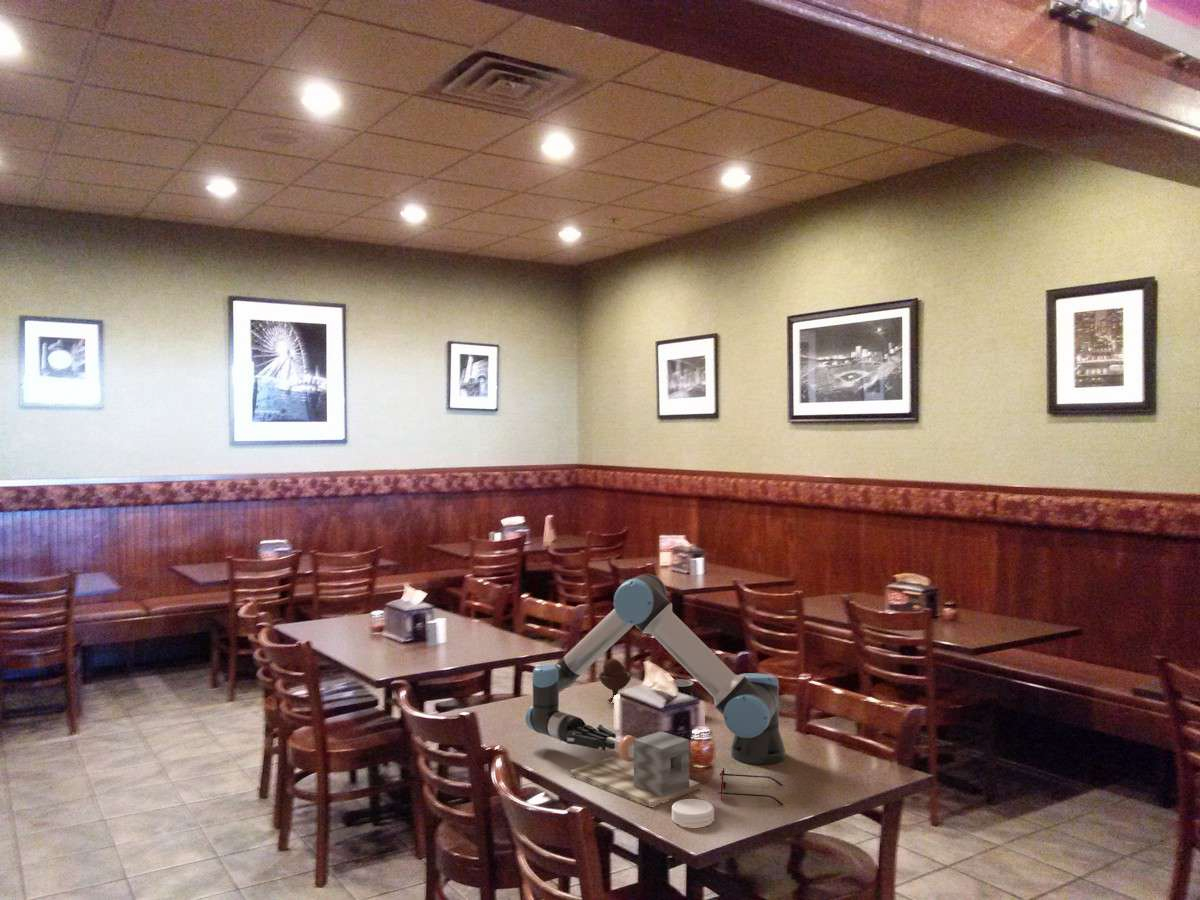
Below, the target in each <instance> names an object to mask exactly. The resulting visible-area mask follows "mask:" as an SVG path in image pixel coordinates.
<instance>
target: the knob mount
mask: <svg viewBox="0 0 1200 900" xmlns="http://www.w3.org/2000/svg"><path fill="white" fill-rule="evenodd" d="M636 738H637V739H634V761H632V762H628V761H625V760H623V759H621V758H620V757H619V754H615V755H613V756H611V757H607V758H604V759H601V760H597V761H594V762H592V763H589V764H586V765H583V766H580V767H575V768H574V769H570V776H571V775H572V776H574V777H573V778H575V777H577V778H579V779H578V780H580V779H581V780H580V781H582V780H583V782H585V781H587V782H590V783H591V784H590V783H589V784H590V785H592V784H594V785H593V786H595V785H597V786H599V787H598V788H600V787H602V788H604V789H603V790H605V789H607V790H609V791H608V792H610V791H612V792H614V793H613V794H615V793H616V794H615V795H617V794H619V795H618V796H620V795H621V796H620V797H622V796H624V797H623V798H625V797H627V798H629V799H628V800H630V799H632V800H635V801H638V802H640V803H643V804H645V805H647V806H650V807H652V806H655V805H657V804H660V803H662V802H664V801H667V800H670V799H673V798H675V799H677V798H676V797H678V798H680V797H683V796H685V794H686V795H688V794H691V793H693V792H695V790H696V791H698V790H700V789H701V783H700V782H698V781H696V780H693V779H690V740H689V739H687V738H684V737H681V736H678V735H674V734H673V733H672V734H670V733H667V732H665V731H662V730H661V731H660V730H659V731H657V732H653V733H649V734H647V735H643V736H641V737H636ZM670 758H671V763H670ZM572 776H571V777H572ZM577 778H576V779H577ZM587 782H586V783H587ZM597 786H596V787H597ZM602 788H601V789H602ZM607 790H606V791H607ZM692 791H693V792H692ZM612 792H611V793H612ZM690 792H691V793H690ZM687 793H688V794H687ZM682 795H683V796H682ZM679 796H680V797H679ZM627 798H626V799H627ZM632 800H631V801H632ZM673 800H674V799H673ZM635 801H634V802H635ZM670 801H671V800H670ZM640 803H639V804H640ZM645 805H644V806H645ZM660 805H661V804H660ZM647 806H646V807H647ZM650 807H649V808H650ZM655 807H656V806H655Z"/></svg>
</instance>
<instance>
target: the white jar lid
mask: <svg viewBox="0 0 1200 900" xmlns="http://www.w3.org/2000/svg"><path fill="white" fill-rule="evenodd" d="M672 820H673V821H674V822H675V823H677V824H680V825H683V826H690V827H701V826H706V825H709V824H711V823H712V822H713V821H715V808H714V806H713V805H712V803H710V802H709V801H706V800H702V799H698V798H687V799H680V800H677V801H675V802H674V803H673V804H672V806H671V821H672ZM673 821H672V822H673ZM674 822H673V823H674ZM675 823H674V824H675ZM713 823H714V822H713ZM713 823H712V824H713ZM712 824H711V825H712Z"/></svg>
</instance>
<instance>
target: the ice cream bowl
mask: <svg viewBox="0 0 1200 900" xmlns="http://www.w3.org/2000/svg"><path fill="white" fill-rule="evenodd" d="M598 676H599V680H600V682H601V684H602V685H603V686H604V687H605V688H607V689H609V690H610V691H611V692H612V696H611V697H610V698H609V699H608V700H607V701H609V702H610V703H611V702H612V700H613V697H614V695H616V694H617V693H619V691H620V690H622V689H623V688H625V687H626V686H627V685H628V684H629V683H630V681H631V678H632V674H631V673H630V672H629V671H626V668H625V666H624V665H623V664H622V663H621V662H620V661H619V660H618V659H616V658H610V659H607V660H606V661H605V662H604V664H603V669H602V672H601V673H599V674H598ZM610 703H609V704H610Z"/></svg>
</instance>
